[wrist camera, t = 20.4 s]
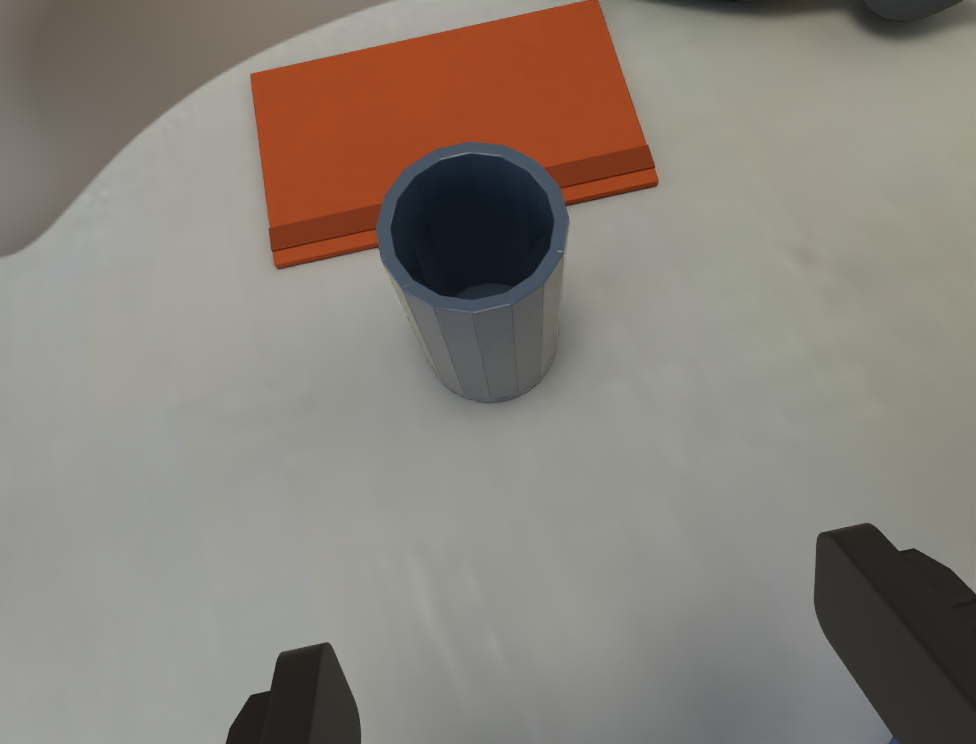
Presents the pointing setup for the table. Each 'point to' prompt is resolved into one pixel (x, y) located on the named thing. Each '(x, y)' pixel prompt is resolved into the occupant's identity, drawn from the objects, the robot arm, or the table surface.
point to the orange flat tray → (442, 121)
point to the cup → (478, 265)
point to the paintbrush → (905, 8)
